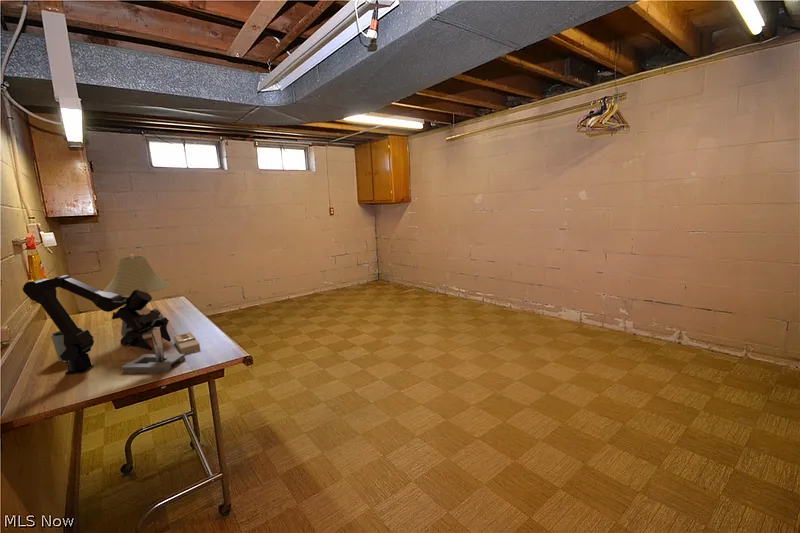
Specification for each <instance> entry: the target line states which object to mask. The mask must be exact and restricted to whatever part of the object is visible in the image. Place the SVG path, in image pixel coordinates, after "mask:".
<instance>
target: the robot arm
mask: <svg viewBox="0 0 800 533" xmlns="http://www.w3.org/2000/svg"><path fill="white" fill-rule="evenodd" d="M57 288H60V289H63V290H65V291H68V292H70V293H73V294H74V295H77V296H79V297H81V298H84V299H87V300H88V301H90V302H91V303H93V304H94V305H95V306H96V307H97V308H98V309H99V310H102V311H103V312H106V313H111V312H112V317H111V320H117V319H120V320H121V322H122V321H123V322H124V323H126V324H127V326H126V328H127V329H129V328H131V329H132V330H131V331H129V332H126V334H125V335H124V336H123V337H122V336H121V339H120V344H121V345H122V346H123V347H127V346H128V347H135V348H138V349H143V350H146V351H149V352H152V351H153V348H154V347H152V346H151V344H149V342H147V341H146V339H145V340H144V339H143V336H142V335H143V334H145V333H147V332H149V331H151V329H152V328H155V327H160V333H161V339H164V340H165V341H167V342H168V343H169V342H171V341H172V339H171V336H170V335H169V332H168V324H169V322H170V320H169V319H168V318H167V317H166V316H165V317H163V318H160V317H159V315H161V314H162V313H161V312H160V310H159V309H158V308H154V309H151V310H152V311H150V313H148V314H146V315H145V314H141V315H140V314H139V313H138V312H137V310H142V309H143V308H144V307H145V306H148V304H149V303H150V302H151V301H152V299H153V298H152V296H151V295H150V294H149V293H145V292H143V291H139V290H138V289H136V290H134V291H133V292H132V294H131V295H128V296H121V295H119V294H115V293H112V292H104V290H99V289H97V288H95V287H93V286H91V285H88V284H86V283H84V282H81V281H79V280H77V279H75V278H72V277H71V276H70V275H67V274H62V275H59V276H55V277H53V278H50V279H49V278H45V277H43V278H39V279H35V280H31V281H27V282H26V283H24V285H23V286H22V292H23V293H24V295H26V296H27V297H28V298H29V300H31V301H33V302H35V303H37V304H39V305H40V306H41V307H42V308H43V310H44V311H45V313H46V314H47V315H48V316H49V318H50V319H51V320H52V321H51V322H53V323H54V325H55V327H57V329H58V331H60V332H61V333H62V334H63V336H64V346H65V348H66V350H65V351H64V352H63V353H62V354H61V355H60V358H61V359H62V360H63V361H65V360H66V366H67V371H66V372H64V374H65V375H71V374H82V373H84V372H86V371H87V370H89V369H92V367H94V364H92V362H91V358H90V356H89V353H90V352H91V350H92V347H93V346H94V343H95V340H94V338H95V337H94V335H92V334H91V333H90V331H89V329H86V330H83V331H82V330H80V329H79V328H80V327H78V326H77V325H76V322H74V319H72V317H71V316H70V315H69V313H68V312H67V310H66V309H65V308H64V306H63V304H62V303H61V302H60V300H59V299H58V298H57ZM115 310H116V311H115ZM113 311H114V312H113ZM157 318H160V319H158V320H156V322H155V323H154V324H153V325H151V324H152V323H153V322H154V321H153V320H155V319H157ZM166 327H167V328H166Z"/></svg>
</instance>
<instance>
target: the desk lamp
mask: <svg viewBox="0 0 800 533" xmlns="http://www.w3.org/2000/svg"><path fill="white" fill-rule="evenodd" d="M169 287H171V284H170V283H168V282H167V281H166V280H164V279H163V278H162V277H161V276H160V275H158V274H157V273H156V271H155V270H154V269H153V268H152V267H151V265H150V264H149V261H148V260H147V258H146V257H145V256H144V255H138V256H137V255H136V256H135V254H129V256H127V257H122V258H119V260H118V264H117V269H116V272H115V274H114V276H113V277H112V280H111V281H110V282H109V284H108V285H107V286H106V287H105V288H104V289H103V291H104V292H112V293H115V294H119V295H121V296H122V297H127V296H130V295H131V294H132V292H133V291H134V290H136V289H138V290H139V291H143V292H145V293H148V294H149V293H152V292H156V291H161V290H163V289H165V288H169ZM152 310H153V309H151V308H148V305H146V306H145V307H144V308H143V309H142V310H137V312H138V313H139V314H140V315H141V314H145V315H146V314H148V313H150V311H152ZM163 316H164V315H163V314H162V313H161V315H159V317H160V318H163ZM160 318H157V319H155V320H153V321H154V322H153V323H152V324H151V325H153V324H154V323H155V322H156V320H158V319H160ZM126 326H127V324H126V323H124V322H123V321H122V320H121V330H120V332H121V333H120V335H121V338H122V337H123V336H124V335H125V334H126V332H129V331H131V330H132V329H131V328H129V329H127V328H126ZM166 328H167V329H168V326H167V327H166ZM142 336H143V339H144V340H145V341H146V340H149V339H153V337H152V331H149V332H147V333H145V334H143V335H142Z"/></svg>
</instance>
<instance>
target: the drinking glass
mask: <svg viewBox="0 0 800 533" xmlns="http://www.w3.org/2000/svg"><path fill="white" fill-rule="evenodd" d="M78 328H79V329H80V330H82V331H84V330H83V327H78ZM50 338H51V341H52V343H53V346H54V350H55V353H56V355H57V360H58V361H59V362H60V361H63V360H62V359H61V358H60V355H61V354H62V353H63V352H64V351H65V350H66V348H65V346H64V336H63V334H62V333H61V332H60V330H58V331H55V332H52V333H51V334H50ZM65 361H66V360H65Z"/></svg>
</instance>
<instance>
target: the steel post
mask: <svg viewBox="0 0 800 533" xmlns="http://www.w3.org/2000/svg"><path fill="white" fill-rule="evenodd" d="M151 331H152V337H153V338H152V342H153V348H154V354H155V355H156V361H157V362H163V361H165V358H164V354H165V352H164V347H163V346H164V345H163V341H162V339H163V338H162V337H161V333H160V327H155V328H152V329H151Z"/></svg>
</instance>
